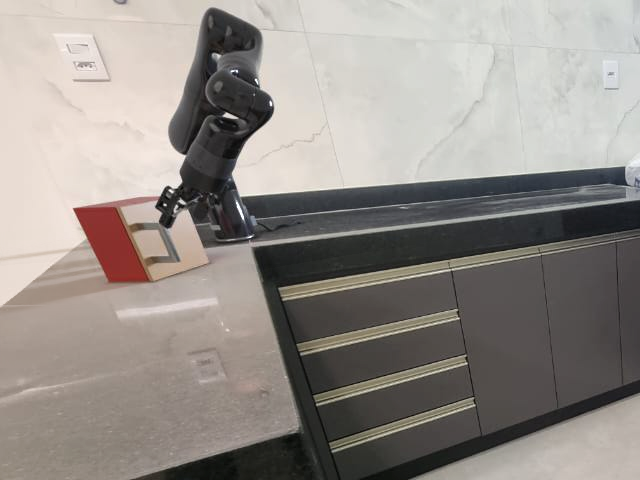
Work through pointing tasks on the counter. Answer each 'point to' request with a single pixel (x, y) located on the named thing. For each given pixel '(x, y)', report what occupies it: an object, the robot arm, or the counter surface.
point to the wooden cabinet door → (162, 240)
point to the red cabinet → (112, 239)
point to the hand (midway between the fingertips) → (181, 221)
